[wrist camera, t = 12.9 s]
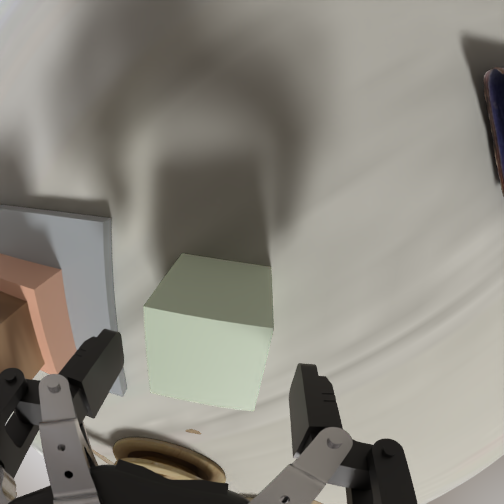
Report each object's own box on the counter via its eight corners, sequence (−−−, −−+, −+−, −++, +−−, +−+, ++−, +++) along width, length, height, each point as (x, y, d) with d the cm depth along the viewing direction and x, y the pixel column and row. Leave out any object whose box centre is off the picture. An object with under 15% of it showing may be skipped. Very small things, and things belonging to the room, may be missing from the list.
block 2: (182, 253, 16) (143, 306, 11) (271, 266, 16) (274, 328, 11) (179, 326, 18) (150, 392, 12) (257, 338, 18) (253, 411, 12)
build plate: (-19, 202, 15) (-53, 215, 12) (111, 218, 16) (73, 238, 12) (10, 342, 20) (-12, 365, 16) (127, 388, 20) (109, 423, 17)
